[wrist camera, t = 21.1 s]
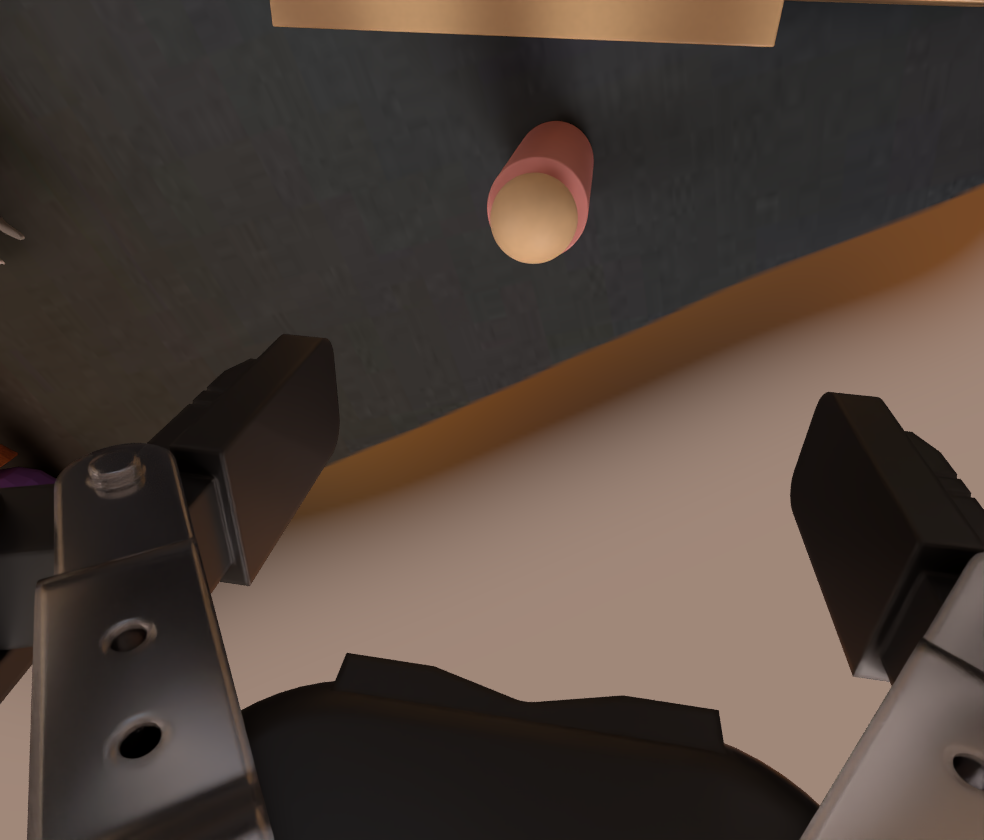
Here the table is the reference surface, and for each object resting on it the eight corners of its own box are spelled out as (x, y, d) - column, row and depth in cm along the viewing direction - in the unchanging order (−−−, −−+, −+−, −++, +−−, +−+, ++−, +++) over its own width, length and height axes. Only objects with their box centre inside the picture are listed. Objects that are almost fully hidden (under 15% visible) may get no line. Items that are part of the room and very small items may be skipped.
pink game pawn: (518, 118, 29) (474, 168, 20) (597, 122, 29) (591, 176, 19) (514, 199, 31) (473, 280, 21) (589, 204, 30) (580, 289, 21)
